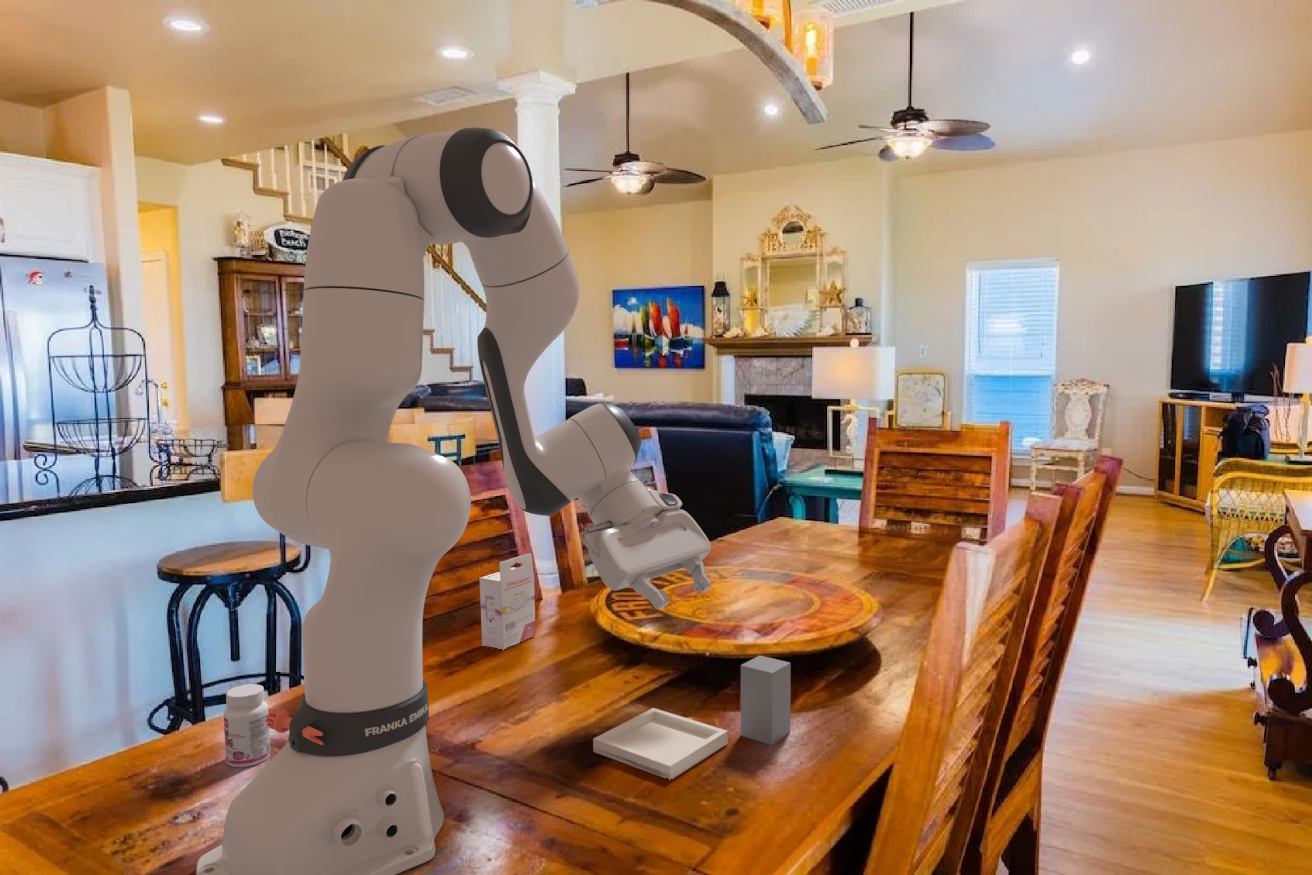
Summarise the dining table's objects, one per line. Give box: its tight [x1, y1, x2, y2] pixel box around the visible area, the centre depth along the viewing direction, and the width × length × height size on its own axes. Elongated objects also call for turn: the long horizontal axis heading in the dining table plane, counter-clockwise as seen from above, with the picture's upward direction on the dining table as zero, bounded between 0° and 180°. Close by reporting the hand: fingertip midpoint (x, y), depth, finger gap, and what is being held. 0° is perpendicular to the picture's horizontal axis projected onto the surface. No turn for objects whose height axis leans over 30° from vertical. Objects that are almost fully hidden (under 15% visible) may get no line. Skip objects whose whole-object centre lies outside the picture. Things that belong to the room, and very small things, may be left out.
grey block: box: [740, 655, 792, 746], centre depth 106 cm, size 4×4×9 cm
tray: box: [592, 707, 729, 781], centre depth 102 cm, size 12×12×2 cm
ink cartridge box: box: [478, 552, 536, 651], centre depth 142 cm, size 9×5×15 cm, turn 149°
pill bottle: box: [223, 683, 271, 768], centre depth 100 cm, size 5×5×8 cm
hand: (685, 597), depth 112 cm, fingers open, 8 cm apart
